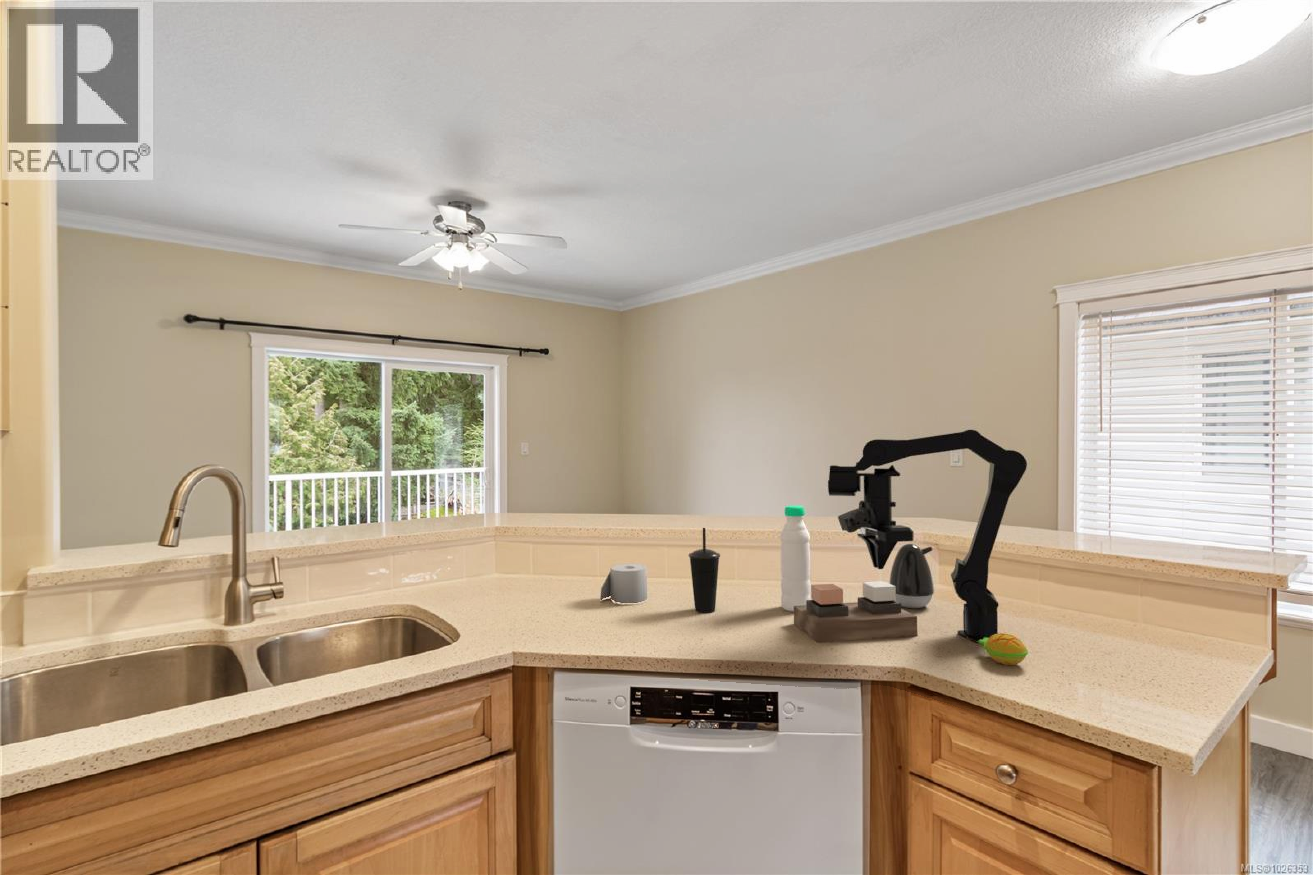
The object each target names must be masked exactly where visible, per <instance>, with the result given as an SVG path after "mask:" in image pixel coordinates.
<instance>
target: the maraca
mask: <svg viewBox="0 0 1313 875" xmlns="http://www.w3.org/2000/svg"><path fill="white" fill-rule="evenodd" d="M977 643H978V644H980V645H983V649H984V650H985V651H986V653H987V655H988V656H989V657H990V658H991V659H992V660H994V661H995V662H997V663H998V664H1002V665H1004V666H1014V665H1018V664H1020V663H1022V662H1023V661H1024V660H1025V658H1026V657H1027V655H1028V654H1029V650H1028V649H1027V647H1026V645H1025V644H1024V642H1023V641H1021V639H1019V638H1018V637H1017V636H1015V635H1013V634H1011V633H1010V634H1009V633H1007V632H998V634H994V635H992V636H991V637H990V638H986V637H985V638H983V640H979V641H978V642H977Z"/></svg>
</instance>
